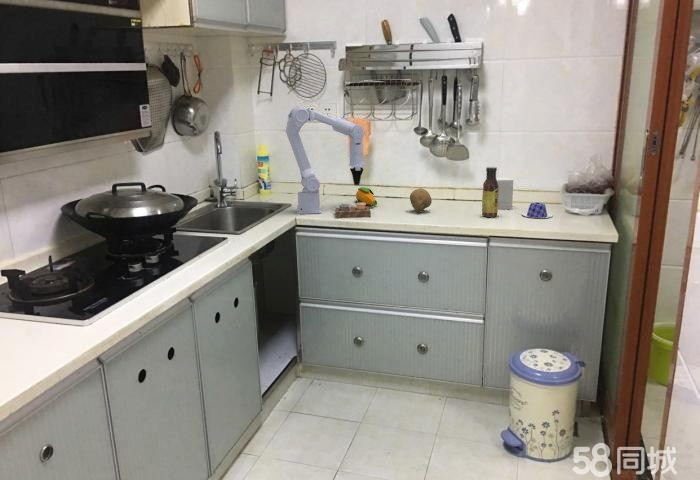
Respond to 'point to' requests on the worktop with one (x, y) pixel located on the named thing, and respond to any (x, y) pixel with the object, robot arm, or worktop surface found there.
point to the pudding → (537, 211)
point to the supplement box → (505, 192)
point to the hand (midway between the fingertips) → (356, 184)
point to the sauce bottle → (490, 194)
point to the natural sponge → (420, 199)
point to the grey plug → (344, 207)
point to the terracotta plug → (360, 206)
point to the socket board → (352, 213)
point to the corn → (365, 196)
